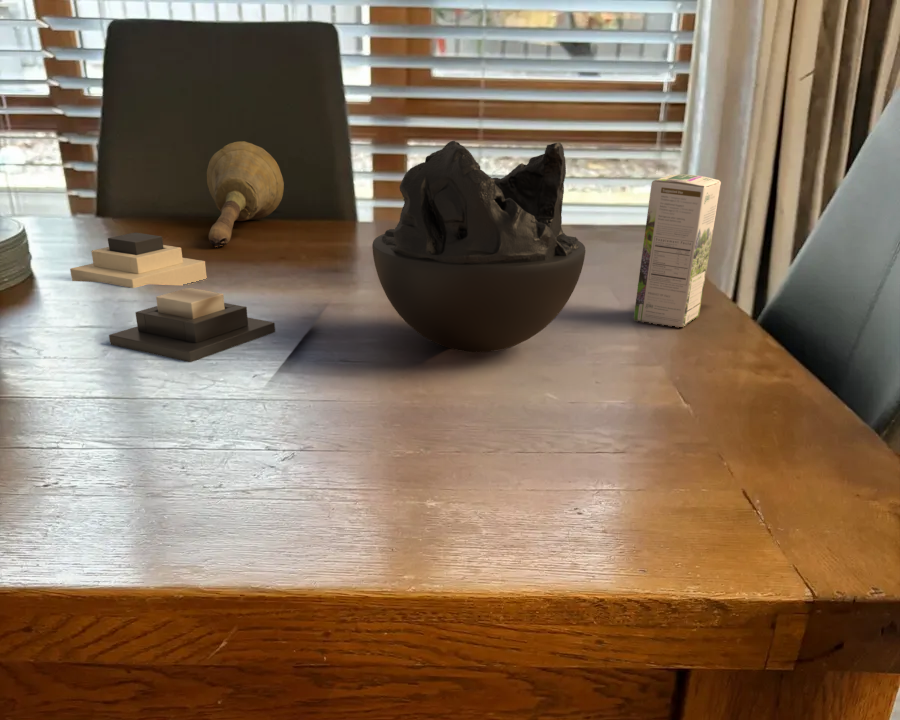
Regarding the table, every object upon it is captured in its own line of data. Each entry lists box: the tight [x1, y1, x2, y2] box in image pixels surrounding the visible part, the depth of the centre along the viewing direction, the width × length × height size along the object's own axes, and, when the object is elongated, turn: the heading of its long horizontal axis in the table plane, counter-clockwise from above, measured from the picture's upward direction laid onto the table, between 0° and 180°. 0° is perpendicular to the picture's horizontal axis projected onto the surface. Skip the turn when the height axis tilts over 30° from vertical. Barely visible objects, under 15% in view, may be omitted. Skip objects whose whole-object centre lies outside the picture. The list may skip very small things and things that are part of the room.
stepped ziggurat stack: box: [69, 244, 208, 289], centre depth 117 cm, size 12×10×4 cm
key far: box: [107, 232, 164, 255], centre depth 115 cm, size 4×4×2 cm
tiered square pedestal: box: [108, 302, 276, 363], centre depth 93 cm, size 12×10×4 cm
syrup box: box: [633, 173, 722, 328], centre depth 104 cm, size 6×6×14 cm
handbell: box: [206, 140, 285, 247], centre depth 143 cm, size 12×12×25 cm
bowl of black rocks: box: [371, 140, 586, 353], centre depth 92 cm, size 20×20×19 cm
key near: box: [155, 287, 225, 319], centre depth 92 cm, size 4×4×2 cm
